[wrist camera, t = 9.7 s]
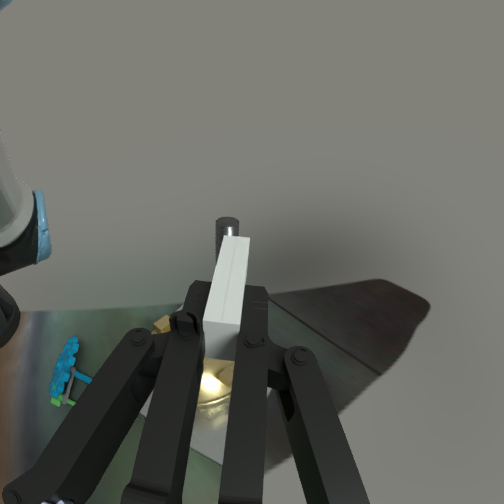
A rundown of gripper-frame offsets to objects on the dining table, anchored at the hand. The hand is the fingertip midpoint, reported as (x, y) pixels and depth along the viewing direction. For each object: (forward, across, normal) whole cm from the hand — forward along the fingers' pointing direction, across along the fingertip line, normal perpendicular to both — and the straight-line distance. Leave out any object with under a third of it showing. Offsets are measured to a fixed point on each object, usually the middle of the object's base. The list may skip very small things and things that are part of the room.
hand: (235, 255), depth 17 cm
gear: (0, -23, -26) cm, 35 cm away
